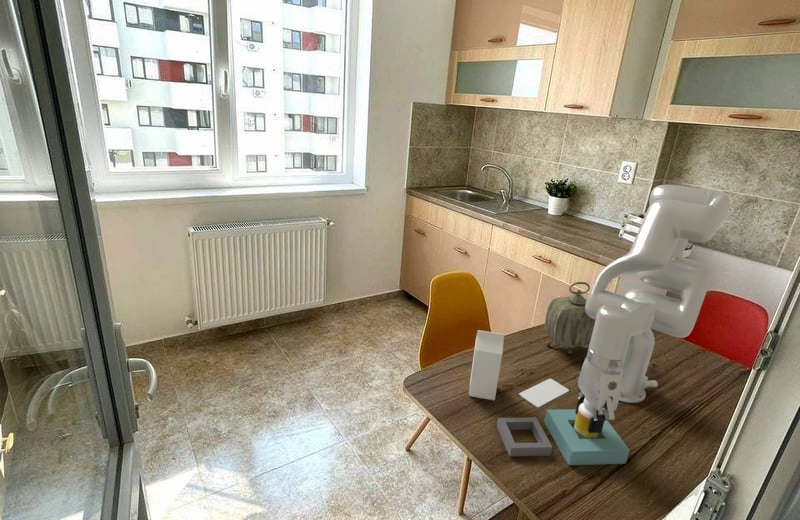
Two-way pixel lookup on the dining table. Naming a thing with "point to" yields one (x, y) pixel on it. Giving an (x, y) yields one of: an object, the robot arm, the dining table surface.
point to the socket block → (585, 441)
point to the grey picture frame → (524, 448)
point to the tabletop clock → (569, 320)
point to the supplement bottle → (585, 420)
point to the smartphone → (543, 392)
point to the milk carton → (486, 365)
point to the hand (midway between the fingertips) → (587, 421)
